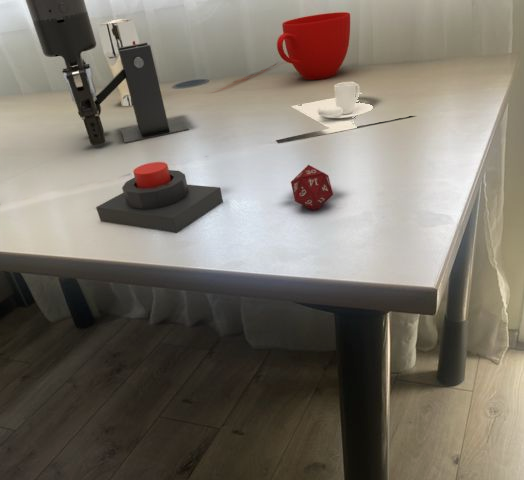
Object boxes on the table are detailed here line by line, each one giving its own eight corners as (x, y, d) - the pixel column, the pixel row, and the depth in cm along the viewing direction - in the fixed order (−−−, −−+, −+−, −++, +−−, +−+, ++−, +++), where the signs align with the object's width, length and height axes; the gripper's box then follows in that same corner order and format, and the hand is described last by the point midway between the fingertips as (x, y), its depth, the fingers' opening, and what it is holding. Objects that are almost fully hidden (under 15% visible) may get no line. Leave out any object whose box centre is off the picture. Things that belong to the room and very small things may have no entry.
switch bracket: (126, 150, 81) (100, 56, 73) (123, 137, 88) (98, 50, 80) (190, 136, 82) (171, 42, 75) (181, 124, 89) (163, 37, 82)
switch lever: (91, 126, 80) (74, 109, 78) (90, 122, 83) (74, 105, 81) (152, 63, 78) (136, 44, 76) (150, 61, 81) (134, 42, 79)
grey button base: (100, 221, 58) (90, 190, 56) (149, 194, 63) (141, 165, 61) (177, 233, 52) (168, 199, 50) (223, 202, 58) (217, 170, 56)
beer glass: (154, 101, 109) (134, 16, 100) (154, 108, 103) (133, 18, 94) (120, 108, 108) (97, 22, 100) (119, 115, 103) (94, 25, 94)
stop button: (130, 189, 56) (125, 172, 55) (153, 177, 58) (149, 161, 57) (156, 191, 54) (151, 174, 53) (178, 179, 56) (174, 162, 55)
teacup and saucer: (323, 125, 77) (321, 95, 74) (308, 114, 83) (306, 86, 81) (381, 114, 77) (381, 83, 75) (361, 103, 84) (361, 75, 81)
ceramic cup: (260, 87, 106) (253, 29, 100) (317, 68, 114) (314, 13, 108) (307, 90, 98) (302, 27, 92) (365, 69, 106) (364, 10, 100)
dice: (298, 219, 51) (294, 178, 49) (291, 202, 55) (287, 164, 52) (336, 213, 51) (334, 171, 49) (327, 196, 55) (325, 157, 52)
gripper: (35, 16, 78) (74, 134, 88) (27, 21, 67) (73, 155, 77) (86, 7, 79) (119, 124, 89) (87, 10, 68) (124, 144, 78)
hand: (98, 138), depth 83 cm, fingers open, 6 cm apart
